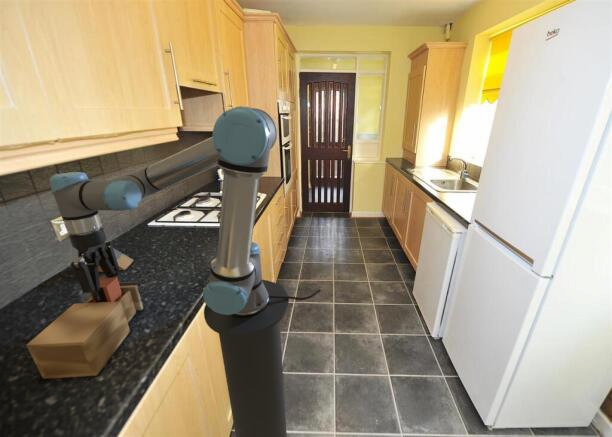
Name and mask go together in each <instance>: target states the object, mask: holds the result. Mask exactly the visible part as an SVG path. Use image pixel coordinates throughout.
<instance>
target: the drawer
mask: <svg viewBox="0 0 612 437" xmlns="http://www.w3.org/2000/svg"><path fill="white" fill-rule="evenodd" d="M119 285H120V288H121V292H122V295H123V296H122V297H121V298H120V300H119V301H121V303H122V306H123V310H124V313H125V316H126V319H127V322H128V323H129V322H130V321H131V320H132V319H133V317H134V316H135V315H136V314H137V311H142V310H143V309H144V305H143V302H142V298H141V295H140V290H139V288H138V287H140V286H141V285H142V283H141V281H125V282H124V281H123V282H121V281H119ZM119 301H118V302H119ZM85 303H94V302H93V299H92V296H90V298H89V299H88V300H87V301H85Z"/></svg>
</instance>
